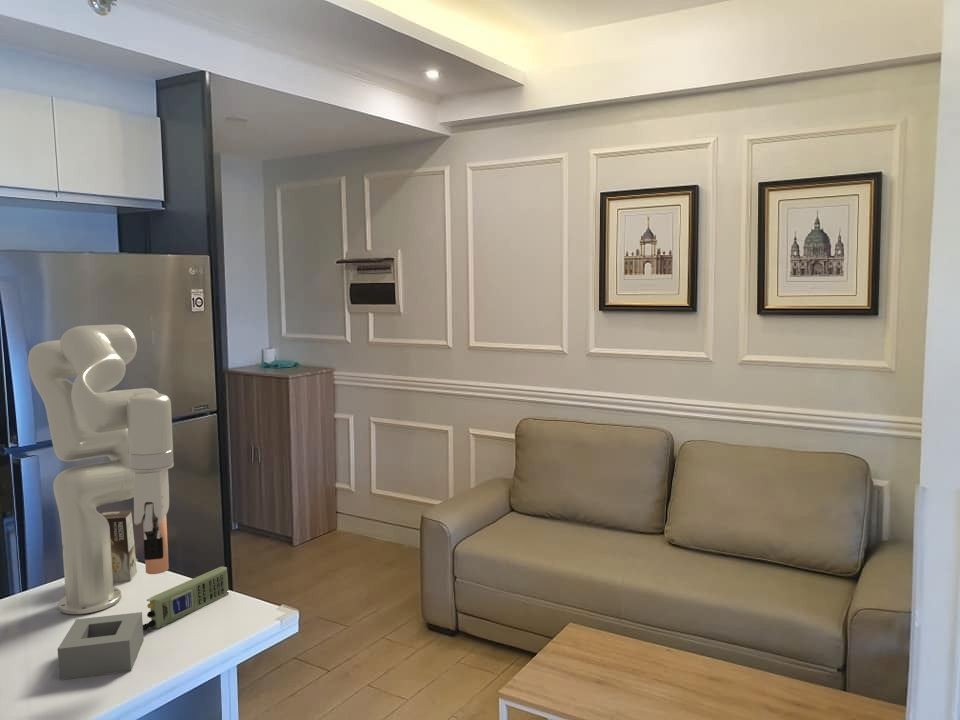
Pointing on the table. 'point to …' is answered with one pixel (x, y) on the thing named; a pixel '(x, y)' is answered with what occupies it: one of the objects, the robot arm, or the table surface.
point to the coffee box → (122, 544)
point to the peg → (162, 564)
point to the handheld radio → (187, 597)
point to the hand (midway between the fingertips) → (156, 553)
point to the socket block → (100, 646)
